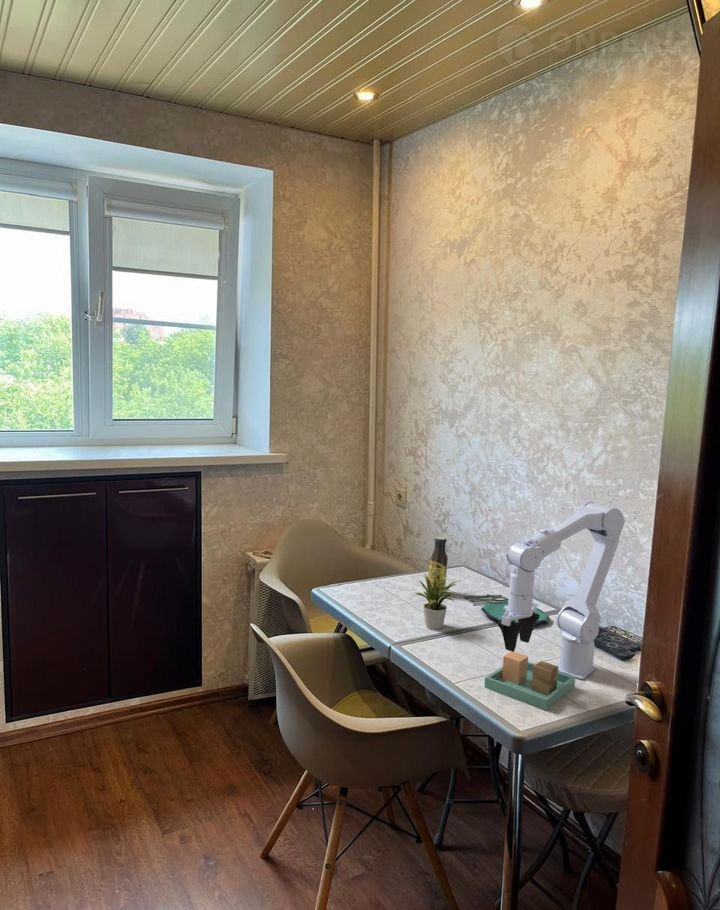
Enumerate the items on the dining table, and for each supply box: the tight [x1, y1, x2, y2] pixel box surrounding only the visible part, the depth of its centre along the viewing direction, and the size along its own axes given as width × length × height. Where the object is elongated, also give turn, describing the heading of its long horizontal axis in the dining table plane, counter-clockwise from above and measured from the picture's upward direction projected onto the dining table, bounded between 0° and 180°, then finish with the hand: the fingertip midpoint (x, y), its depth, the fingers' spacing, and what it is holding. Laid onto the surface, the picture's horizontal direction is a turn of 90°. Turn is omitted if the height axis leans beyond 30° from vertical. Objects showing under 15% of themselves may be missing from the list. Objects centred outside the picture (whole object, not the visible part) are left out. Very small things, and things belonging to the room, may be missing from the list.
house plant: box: [415, 573, 460, 631], centre depth 196 cm, size 14×14×16 cm
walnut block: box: [531, 660, 558, 696], centre depth 158 cm, size 4×4×6 cm
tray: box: [484, 661, 576, 711], centre depth 161 cm, size 16×16×2 cm
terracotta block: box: [502, 651, 529, 685], centre depth 163 cm, size 4×4×6 cm
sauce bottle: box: [427, 535, 449, 593], centre depth 228 cm, size 6×6×20 cm
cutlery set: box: [463, 593, 550, 625], centre depth 213 cm, size 20×30×2 cm, turn 18°
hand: (517, 645), depth 163 cm, fingers open, 7 cm apart
